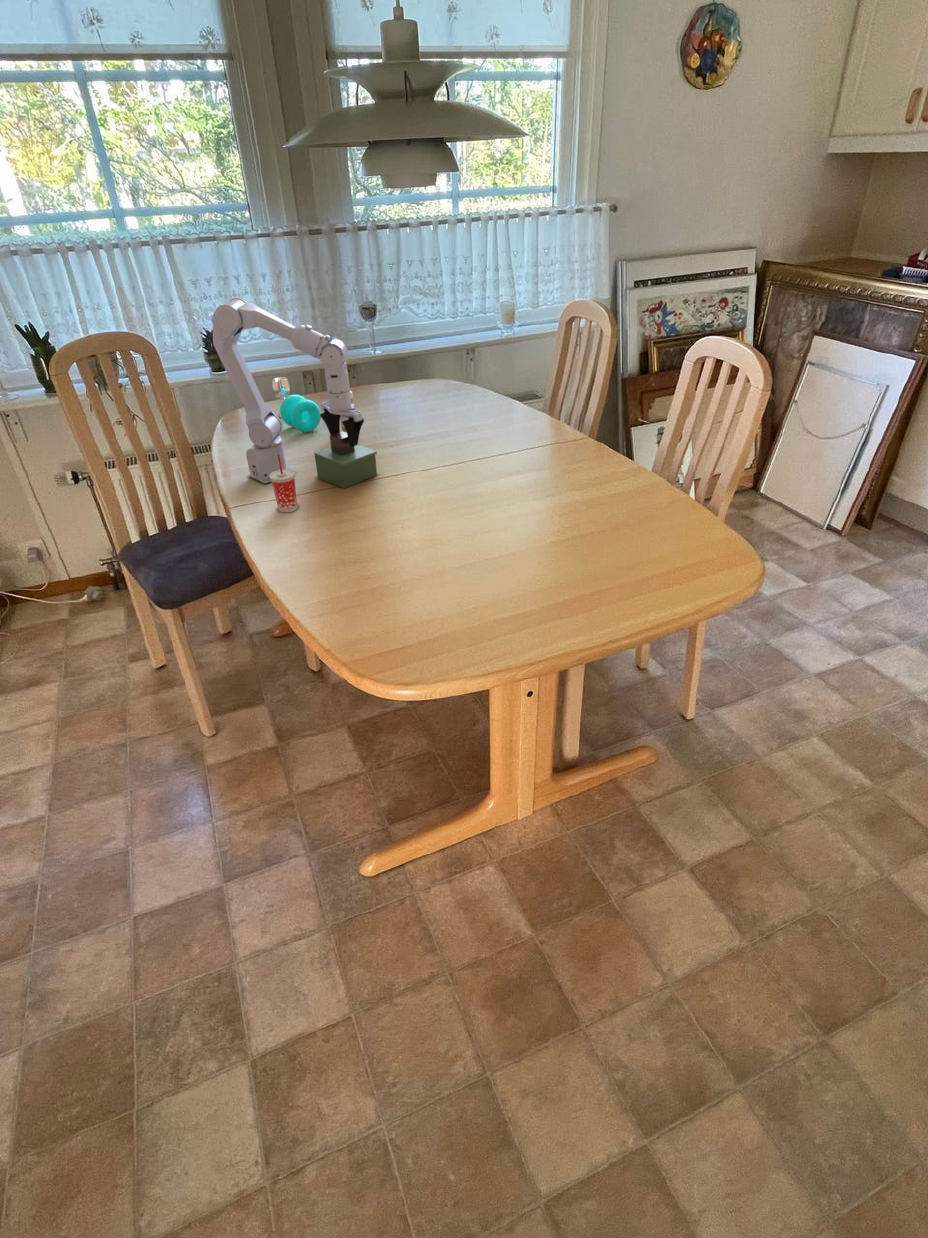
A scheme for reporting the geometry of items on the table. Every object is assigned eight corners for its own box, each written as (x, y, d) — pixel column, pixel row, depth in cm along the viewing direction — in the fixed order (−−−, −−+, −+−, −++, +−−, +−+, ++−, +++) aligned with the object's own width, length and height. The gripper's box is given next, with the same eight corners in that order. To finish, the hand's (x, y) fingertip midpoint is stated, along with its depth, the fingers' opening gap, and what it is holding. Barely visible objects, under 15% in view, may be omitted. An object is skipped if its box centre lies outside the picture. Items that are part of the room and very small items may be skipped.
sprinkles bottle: (351, 431, 217) (347, 388, 210) (359, 435, 214) (355, 391, 207) (339, 435, 215) (333, 391, 207) (347, 439, 212) (341, 394, 204)
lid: (377, 453, 185) (376, 451, 184) (342, 466, 178) (342, 464, 178) (348, 443, 192) (348, 440, 191) (314, 455, 185) (314, 452, 184)
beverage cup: (305, 508, 173) (296, 454, 165) (283, 516, 169) (273, 461, 161) (292, 500, 176) (283, 447, 168) (270, 508, 173) (260, 454, 165)
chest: (377, 475, 189) (375, 453, 185) (343, 488, 182) (340, 466, 178) (351, 464, 195) (348, 443, 192) (317, 477, 188) (314, 455, 185)
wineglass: (276, 414, 233) (270, 377, 226) (293, 412, 234) (288, 375, 227) (278, 419, 228) (271, 382, 221) (295, 417, 230) (289, 380, 223)
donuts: (296, 436, 215) (291, 404, 209) (281, 428, 221) (275, 397, 215) (324, 429, 220) (320, 397, 214) (309, 421, 226) (304, 390, 220)
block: (341, 455, 182) (339, 439, 180) (331, 451, 185) (329, 435, 182) (354, 450, 185) (353, 434, 182) (344, 446, 188) (342, 431, 185)
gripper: (369, 392, 175) (374, 444, 182) (333, 381, 183) (339, 431, 191) (347, 398, 170) (353, 451, 178) (311, 387, 179) (319, 438, 186)
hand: (344, 442), depth 184 cm, fingers open, 7 cm apart
